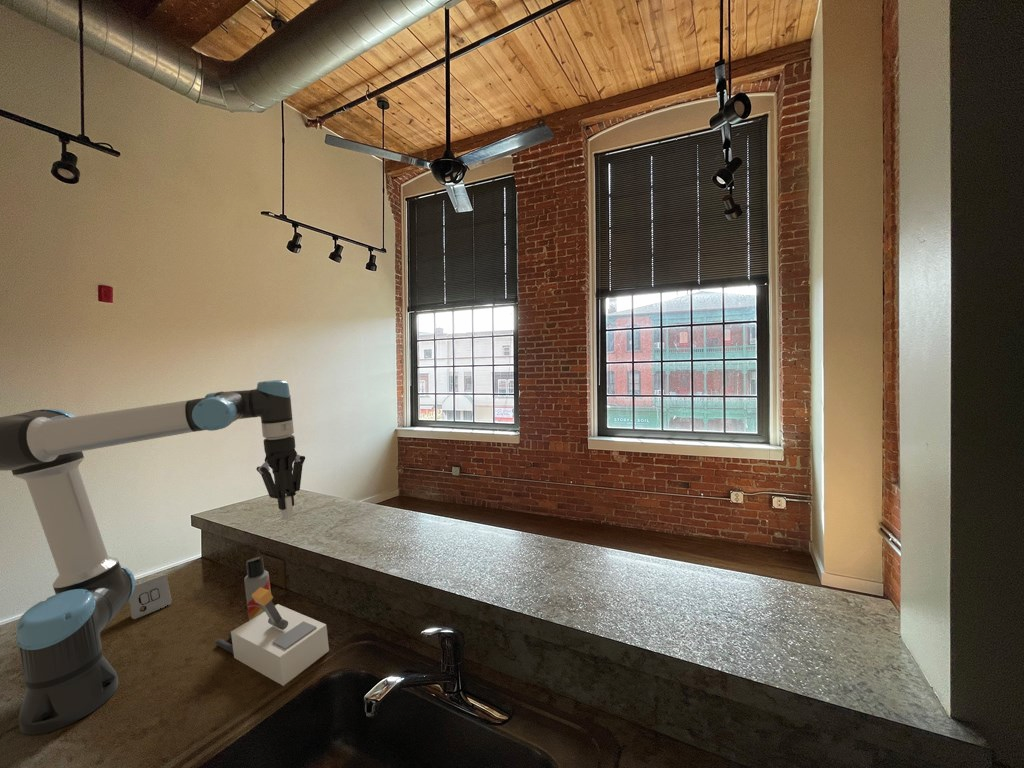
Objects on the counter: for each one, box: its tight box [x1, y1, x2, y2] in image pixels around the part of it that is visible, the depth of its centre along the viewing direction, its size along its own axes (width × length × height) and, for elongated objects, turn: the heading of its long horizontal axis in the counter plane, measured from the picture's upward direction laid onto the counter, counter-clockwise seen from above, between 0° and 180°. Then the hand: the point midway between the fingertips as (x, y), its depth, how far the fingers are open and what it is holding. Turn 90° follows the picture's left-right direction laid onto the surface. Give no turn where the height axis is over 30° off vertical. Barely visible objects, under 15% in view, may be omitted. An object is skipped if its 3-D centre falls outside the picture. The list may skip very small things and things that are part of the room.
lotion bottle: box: [243, 555, 273, 621], centre depth 115 cm, size 6×6×20 cm
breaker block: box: [230, 603, 330, 687], centre depth 105 cm, size 20×12×7 cm, turn 61°
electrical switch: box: [128, 574, 173, 620], centre depth 127 cm, size 9×5×9 cm, turn 141°
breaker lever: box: [251, 587, 288, 630], centre depth 103 cm, size 5×2×11 cm, turn 61°
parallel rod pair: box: [215, 631, 234, 655], centre depth 109 cm, size 9×4×1 cm, turn 61°
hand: (288, 519), depth 118 cm, fingers closed
